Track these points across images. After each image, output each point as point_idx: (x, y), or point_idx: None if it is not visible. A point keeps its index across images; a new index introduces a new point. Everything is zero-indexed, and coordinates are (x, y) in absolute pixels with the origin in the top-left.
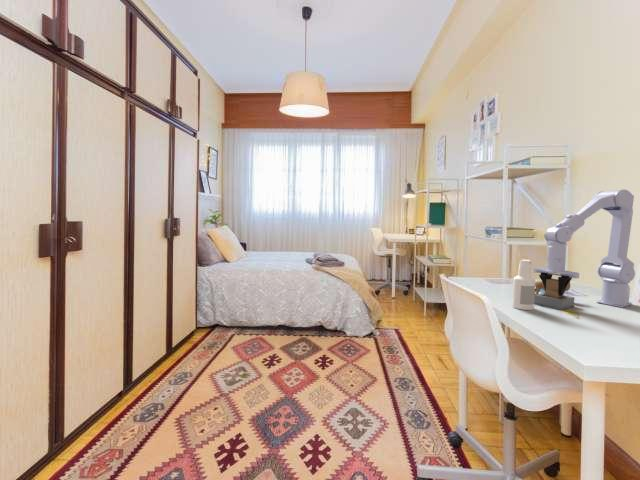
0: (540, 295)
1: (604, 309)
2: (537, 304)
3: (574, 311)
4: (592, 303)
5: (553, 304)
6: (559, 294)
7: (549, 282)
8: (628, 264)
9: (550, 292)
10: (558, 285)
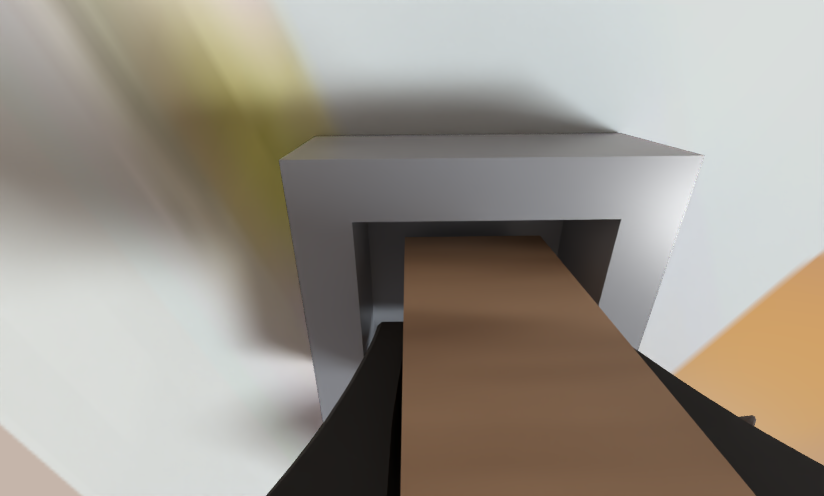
0: (618, 213)
1: (198, 446)
2: (578, 133)
3: (231, 201)
4: None
5: (403, 140)
6: (395, 326)
7: (643, 475)
8: None
9: (514, 297)
10: (401, 446)
